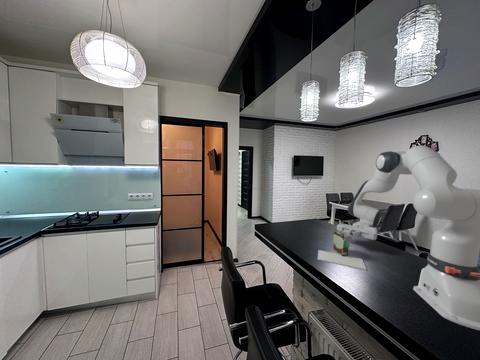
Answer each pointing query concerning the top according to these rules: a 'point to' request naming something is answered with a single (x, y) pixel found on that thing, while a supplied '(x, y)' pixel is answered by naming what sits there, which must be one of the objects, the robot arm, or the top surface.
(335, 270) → the top surface
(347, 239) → the food container
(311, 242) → the top surface
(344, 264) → the rubber mat
